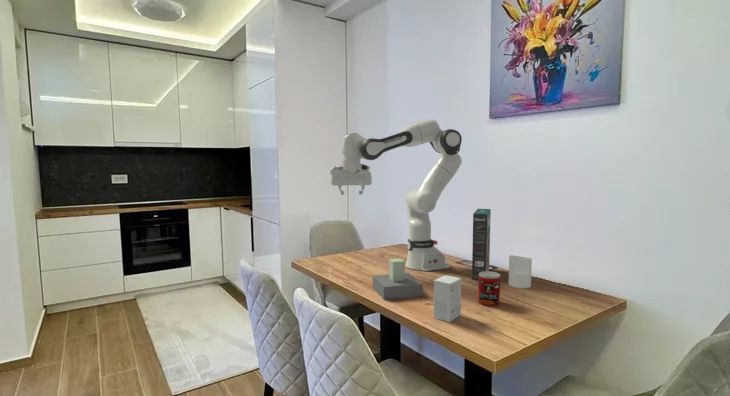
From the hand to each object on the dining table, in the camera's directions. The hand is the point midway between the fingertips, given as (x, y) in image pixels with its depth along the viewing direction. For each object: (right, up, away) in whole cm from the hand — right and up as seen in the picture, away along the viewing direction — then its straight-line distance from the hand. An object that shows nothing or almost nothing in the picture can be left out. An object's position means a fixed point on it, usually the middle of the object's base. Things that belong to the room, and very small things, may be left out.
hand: (351, 194), depth 188 cm
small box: (+35, -42, -59) cm, 80 cm away
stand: (+20, -40, -33) cm, 55 cm away
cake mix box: (+62, -38, -8) cm, 73 cm away
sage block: (+20, -35, -33) cm, 52 cm away
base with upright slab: (+73, -39, -25) cm, 87 cm away
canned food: (+53, -41, -46) cm, 81 cm away
